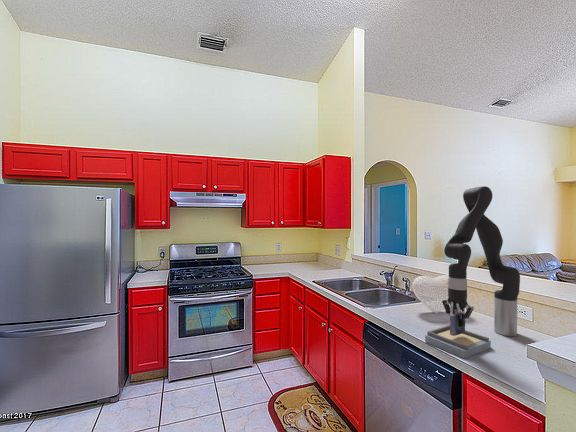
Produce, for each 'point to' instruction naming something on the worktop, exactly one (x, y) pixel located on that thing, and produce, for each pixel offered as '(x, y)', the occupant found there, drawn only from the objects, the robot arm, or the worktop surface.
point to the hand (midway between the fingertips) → (457, 325)
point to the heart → (431, 291)
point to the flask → (456, 324)
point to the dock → (458, 341)
